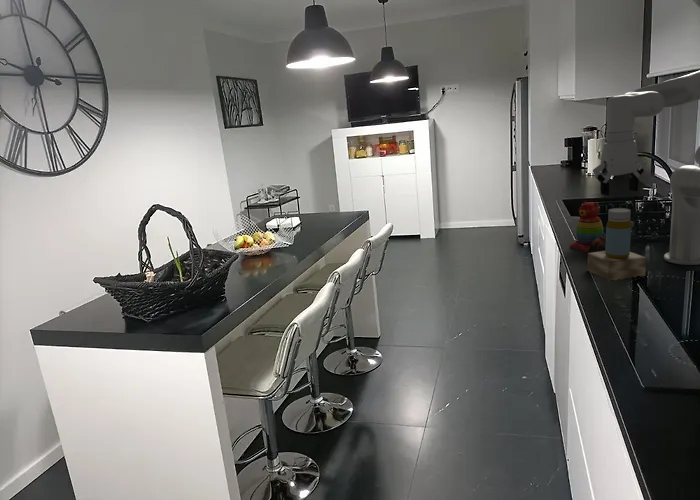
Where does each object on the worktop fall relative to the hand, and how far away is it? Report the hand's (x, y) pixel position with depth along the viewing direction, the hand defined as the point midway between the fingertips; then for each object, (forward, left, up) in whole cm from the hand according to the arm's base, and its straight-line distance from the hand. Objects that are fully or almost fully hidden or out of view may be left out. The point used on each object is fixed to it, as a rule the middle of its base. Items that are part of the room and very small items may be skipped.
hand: (619, 192), depth 164 cm
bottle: (+1, +1, -21) cm, 21 cm away
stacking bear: (-9, -29, -27) cm, 40 cm away
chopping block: (0, 0, -26) cm, 26 cm away
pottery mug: (-7, -17, -27) cm, 33 cm away
